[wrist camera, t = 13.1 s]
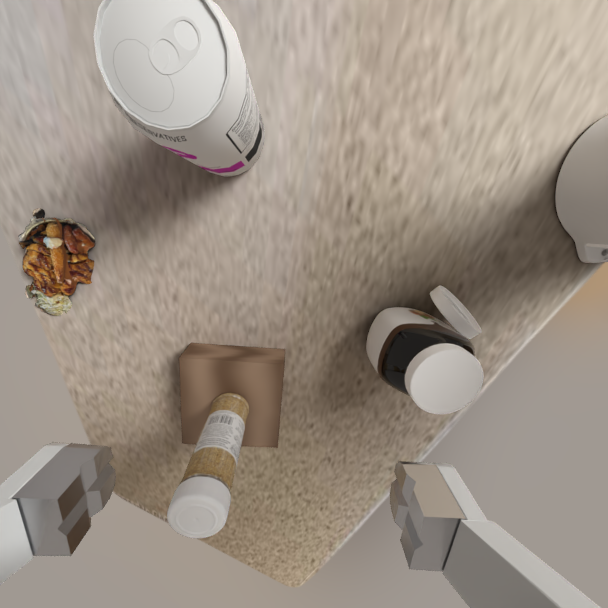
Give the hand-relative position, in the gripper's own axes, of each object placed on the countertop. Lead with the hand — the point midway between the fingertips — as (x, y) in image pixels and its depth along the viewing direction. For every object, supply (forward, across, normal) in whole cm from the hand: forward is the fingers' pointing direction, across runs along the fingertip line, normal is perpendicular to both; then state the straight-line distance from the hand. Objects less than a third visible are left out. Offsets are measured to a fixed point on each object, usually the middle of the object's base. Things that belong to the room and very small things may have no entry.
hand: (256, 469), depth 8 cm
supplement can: (+27, +8, -14) cm, 32 cm away
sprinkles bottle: (+23, +6, +16) cm, 29 cm away
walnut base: (+27, +6, +16) cm, 32 cm away
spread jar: (+28, -16, +5) cm, 32 cm away
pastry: (+27, +26, +1) cm, 38 cm away
